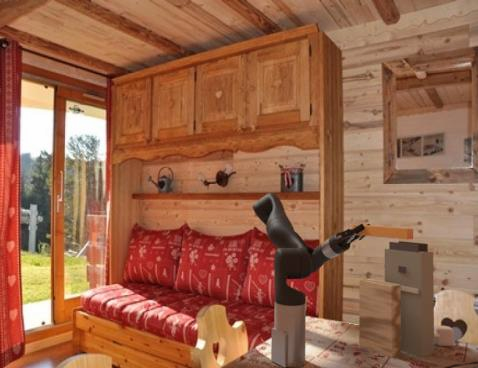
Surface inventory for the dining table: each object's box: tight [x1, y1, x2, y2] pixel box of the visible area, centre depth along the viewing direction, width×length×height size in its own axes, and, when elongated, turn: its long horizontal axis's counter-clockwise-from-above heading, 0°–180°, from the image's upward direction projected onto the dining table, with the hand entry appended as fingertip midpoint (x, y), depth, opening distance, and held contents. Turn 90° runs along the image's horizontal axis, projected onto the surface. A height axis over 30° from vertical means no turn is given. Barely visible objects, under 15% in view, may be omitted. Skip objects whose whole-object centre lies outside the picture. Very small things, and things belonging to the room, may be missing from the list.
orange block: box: [352, 224, 414, 240], centre depth 137 cm, size 4×22×4 cm, turn 35°
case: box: [384, 240, 435, 359], centre depth 128 cm, size 7×13×34 cm, turn 35°
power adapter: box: [434, 325, 455, 347], centre depth 132 cm, size 11×5×6 cm, turn 83°
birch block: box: [358, 278, 402, 358], centre depth 127 cm, size 5×12×22 cm, turn 35°
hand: (366, 226), depth 143 cm, fingers closed on orange block, 3 cm apart
